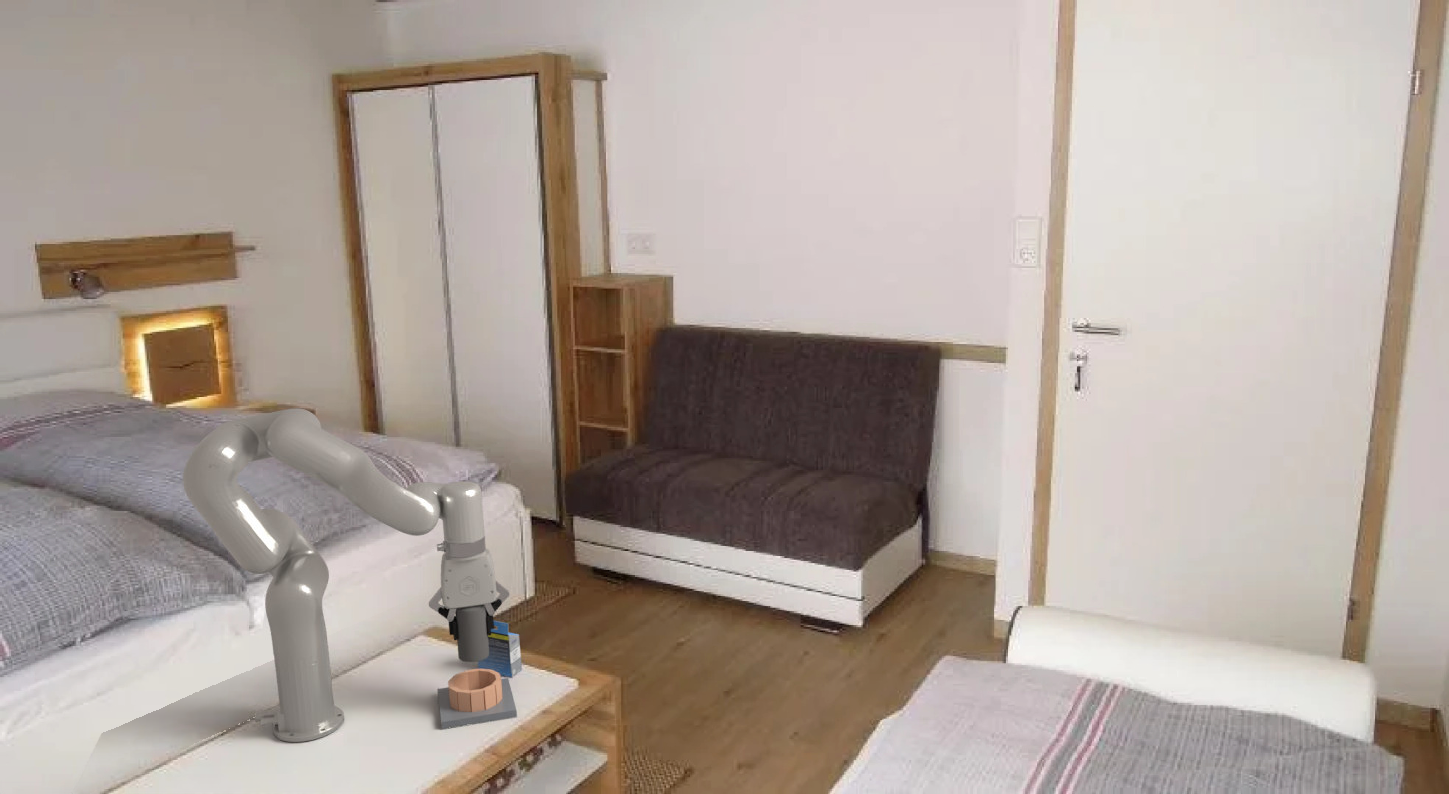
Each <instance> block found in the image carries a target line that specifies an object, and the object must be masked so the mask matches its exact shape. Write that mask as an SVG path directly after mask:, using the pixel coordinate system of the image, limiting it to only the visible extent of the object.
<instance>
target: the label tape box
mask: <svg viewBox="0 0 1449 794" xmlns="http://www.w3.org/2000/svg"><path fill="white" fill-rule="evenodd" d="M494 627H496V628H494V629H491V635H488V643H489V656H488V657H487V658H485V659H483V660H481V661H477V664H478V665H477V666H478V668H477V669H480V668H481V669H491V670H494V671H496V672H498V673H500V676H503V677H508V676H509V677H508V678H514V677H515V676H516V675H518V674H519V673H521V672H522V670H523V666H522V665H523V664H522V655H521V653H522V652H521V645H520V634H518V633H513V632H509V623H507V622H502V621H498V620H494ZM517 673H518V674H517ZM513 676H514V677H513Z"/></svg>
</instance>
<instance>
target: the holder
mask: <svg viewBox="0 0 1449 794" xmlns="http://www.w3.org/2000/svg"><path fill="white" fill-rule="evenodd" d="M501 676H502V675H500V673H498V672H496V671H494V670H491V669H481V668H480V669H479V668H472V669H468V670H463V671H461V672H459V673H456V674H454V675H453V676H452V677H451V678H450V679H449V680H448V681H447V684H448V686H447V687H442V688H437V697H438V699H439V700H438V707H439V713H440V714H439V715H440V724H441V730H447V729H446V728H448V729H450V728H449V727H454V728H456V727H455V726H460V727H464V726H463V725H466V726H468V725H467V724H472V725H478V724H483V723H490V722H496V721H500V720H501V721H502V720H506V719H513V718H517V717H518V716H517V715H518V713H517V707H516V704H515V700H514V695H513V691H512V687H511V684H510V680H509V677H506V678H505V677H504V678H502V677H501ZM489 721H490V722H489ZM477 723H478V724H477Z"/></svg>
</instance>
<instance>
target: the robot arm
mask: <svg viewBox="0 0 1449 794" xmlns="http://www.w3.org/2000/svg"><path fill="white" fill-rule="evenodd" d="M269 458H274V459H276V461H278V462H280V463H282V464H284V465H286V466H289V467H290V468H292V469H293V470H296V471H298V472H301V473H302V474H304V475H306V476H309V477H310V478H312V479H314V480H316V481H318V482H320V483H322V484H324V485H326V486H328V487H329V488H332V489H334V490H335V491H337V492H339V493H340V494H341V495H342V496H344V498H346V499H347V500H348V501H349V502H351V503H352V504H353V505H354V506H356V507H357V508H359V509H360V510H361V511H363V513H365V514H366V515H368V516H369V517H371V518H372V519H374V520H376V521H378V522H380V523H381V524H385V526H388V527H390V528H392V529H394V530H397V531H399V532H401V533H403V534H406V535H409V536H414V537H415V536H416V537H417V536H418V537H419V536H424V535H426V534H429V533H430V532H432V531H433V530H434V529H435V527H436V526H437V524H438V522H439V519H441V521H442V528H443V541H442V542H441V543H437V544H436V551H437V552H443V554H442V556H441V561H440V562H441V563H440V588H439V589H438V590H437V591H436V592H435V593H434V595H433V596H432V598H430V599H429V602H428V606H429V608H430V609H432V610H434V611H435V612H437V613H438V614H439V615H441V617H442V618H445V619H446V620H447V621H448V631H449V632H448V633H449V636H453V641H457V639H458V634H457V622H456V615H455V612H456V609H457V608H465V607H472V606H479V605H484V606H485V608H486V612H487V616H486V623H487V635H491V629H495V626H494V621H495V620H494V615H495V612H497V610H498V609H499V608H500V607H501V606H502V603H504V602H505V600H507V599H508V598H509V597H510V591H509V590H508V589H507V588H505V587H504V586H503V585H502V584H501V583H500V582H498V581H497V580H496V575H495V567H494V562H493V558H492V554H491V552H490V550H489V549H488V548H487V547H486V536H485V534H486V533H485V521H484V520H485V519H484V507H483V497H482V496H483V495H482V489H481V487H480V485H479V484H478V483H476V482H474V481H468V480H467V481H466V480H463V481H455V482H451V483H438V482H428V481H427V482H425V481H424V482H423V481H420V482H414V483H412V484H410V485H408V486H407V487H406V488H404V487H402V485H399V484H397V483H395V482H394V481H392V480H391V479H389V478H388V477H387V476H385V475H384V474H383V473H382V472H381V471H380V470H379V469H378V468H377V467H376V465H375V464H374V463H373V461H372V459H371V458H370V456H369V455H368V454H367V453H366V452H365V451H364V450H362V449H361V448H360V447H357V446H355V445H353V444H351V443H350V442H347V441H345V440H344V439H342V438H340V437H337V436H336V435H334V434H332V433H330V432H328V431H326V430H324V429H323V428H322V424H321V422H320V420H319V418H318V417H317V416H316V415H315V414H314V413H313V412H311V411H310V410H306V409H303V408H288V409H282V410H277V411H273V412H269V413H263V414H257V415H253V416H249V417H247V416H246V417H244V418H238V419H234V420H233V419H232V420H230V421H226V422H224V423H222V424H220V425H219V426H217V427H216V428H215V429H214V430H213V431H211V432H210V433H208V435H205V437H204V438H203V439H202V440H201V441H200V442H199V443H198V444H197V445H196V447H195V448H194V449H193V451H192V452H191V454H190V456H189V457H188V459H187V461H186V463H185V466H184V469H183V474H182V483H183V488H184V491H185V495H186V497H187V499H188V500H189V502H190V503H191V504H192V506H193V507H194V508H195V510H196V511H197V513H199V515H200V516H201V517H202V518H203V519H204V521H205V522H206V524H207V525H208V526H209V527H210V529H211V530H212V531H213V533H214V535H215V536H216V537H217V538H218V539H219V541H220V542H221V543H222V545H223V546H224V547H225V548H226V549H227V551H228V552H229V553H230V554H231V556H232V557H233V559H235V561H236V562H237V564H239V566H240V567H241V568H242V569H243V570H245V571H247V572H248V573H250V574H254V575H264V574H267V573H270V574H271V576H272V578H271V580H270V582H269V585H268V586H267V590H266V593H265V599H264V603H265V604H264V605H265V607H264V608H265V614H266V618H267V622H268V625H269V630H270V637H271V642H272V643H271V644H272V653H273V656H274V657H273V658H274V666H275V667H274V668H275V675H276V685H277V694H278V706H275V707H273V709H269V710H259V711H258V710H257V711H255V713H254V718H255V722H256V723H260V725H261V727H265V726H269V725H273V726H272V729H273V734H274V736H275V737H276V738H277V739H279V740H280V741H284V742H290V743H300V742H301V743H302V742H308V741H309V742H310V741H314V740H318V739H320V738H323V737H326V736H328V735H330V734H332V733H334V732H335V731H337V730H338V729H339V728H340V727H341V726H342V725H343V724H344V720H345V715H344V714H345V713H344V711H343V710H342V709H341V708H340V707H338V706H337V705H335V701H334V700H335V699H334V692H333V683H332V671H331V670H332V669H331V663H330V662H331V661H330V652H329V642H328V634H327V627H326V621H325V615H324V610H323V609H324V608H323V597H324V596H325V591H326V590H327V587H328V584H329V579H330V571H329V567H328V565H327V563H326V561H325V560H324V558H323V557H322V555H321V554H320V552H319V551H318V550H317V548H315V546H314V544H313V543H312V542H311V540H309V538H308V537H307V535H306V534H305V533H304V532H303V530H302V529H301V527H299V525H298V523H296V521H295V520H294V519H293V518H292V517H290V516H289V514H287V513H286V512H284V511H281V510H279V509H276V508H261V507H260V506H259V504H257V502H256V501H255V499H254V498H253V497H252V496H251V494H250V493H249V492H248V491H246V489H244V487H242V486H241V485H240V483H239V482H238V479H237V478H238V476H239V474H240V473H242V471H243V470H244V469H245V468H246V467H247V466H248V465H249V464H250V463H253V462H257V461H261V460H264V459H265V460H266V459H269ZM498 593H499V595H497V594H498ZM440 601H442V604H440Z"/></svg>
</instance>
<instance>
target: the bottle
mask: <svg viewBox="0 0 1449 794" xmlns="http://www.w3.org/2000/svg"><path fill="white" fill-rule="evenodd" d="M455 616H456V622H457V634H458V639H457V640H456V641H457V642H456V643H457V653H458V659H459V661H461V662H463V663H478V661H481V660H483V659H485V658H487V657H488V656H489V643H488V635H487V623H486V616H487V612H486V608H485V606H484V605H479V606H472V607H465V608H457V609H456V612H455Z"/></svg>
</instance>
